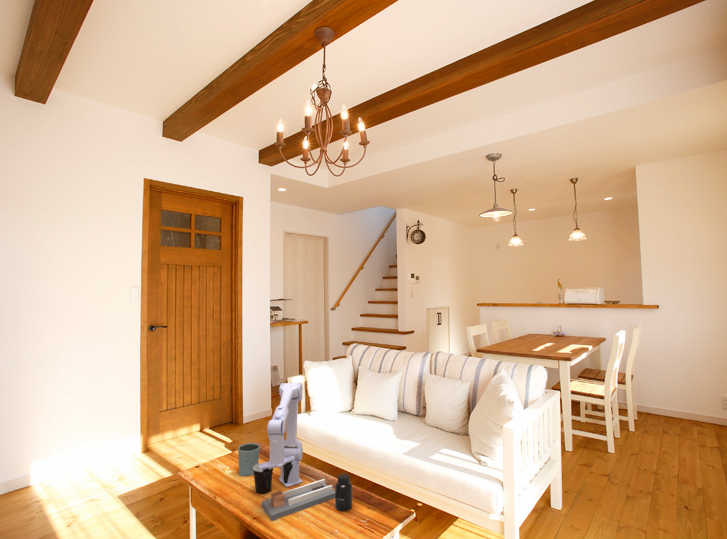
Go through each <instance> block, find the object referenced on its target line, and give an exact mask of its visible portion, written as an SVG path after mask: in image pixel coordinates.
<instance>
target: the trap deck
mask: <svg viewBox="0 0 727 539" xmlns="http://www.w3.org/2000/svg"><path fill="white" fill-rule="evenodd" d="M326 486H329V485H328V484H327V483H326V482H325V485H322V486H319V487H316V488H313V489H310V490H307V491H304V492H301V493H298V494H295V495H292V496H289V497H286V498H284V505H283V506H280V507H277V508H274V507H273V506H272V504H271V497H270V498H268V499H264V500H261V501H260V502H261V503H260V504H261V505H260V506H261V508H262V509H263V512H264V513H265V514H266V515H267V516H268V518H269V519H270V521H271V522H273V521H275V520H278V519H281V518H283V517H286V516H289V515H293V514H295V513H297V512H300V511H302V510H305V509H308V508H311V507H314V506H317V505H320V504H323V503H325V502H327V501H330V500H333V499H335V490H334V489H333V491H330V492H327V493H324V494H322V495H319V496H316V497H313V498H310V499H307V500H304V501H302V502H299V503H296V504H293V505H290V506H289V505H288V499H291V498H294V497H297V496H300V495H303V494H306V493H309V492H312V491H315V490H317V489H320V488H323V487H326Z"/></svg>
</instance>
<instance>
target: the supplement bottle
mask: <svg viewBox="0 0 727 539" xmlns="http://www.w3.org/2000/svg"><path fill="white" fill-rule="evenodd" d="M334 489H335V490H334V491H335V498H334V499H335V500H334V502H335V503H334V504H335V506H334V507H335V509H336V510H338V511H340V512H348V511H350V510H351V509H352V507H353V484H352V482H351V479H350V475H349V474H348V473H340V474H338V475H337V482H336V483H335V486H334Z"/></svg>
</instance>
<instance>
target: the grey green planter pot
mask: <svg viewBox="0 0 727 539" xmlns="http://www.w3.org/2000/svg"><path fill="white" fill-rule="evenodd" d="M260 449H261V446H260V444H259V443H257V442H256V443H254V442H248V443H244V444H241V445H239V446H238V448H237V452H238V454H237V455H238V472H239V475H240V476H241V477H251V476H250V475H252V476H254V472H253V467H254V466H255V465H257V464H259V461H260V460H259V458H260V451H261V450H260Z"/></svg>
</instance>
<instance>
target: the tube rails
mask: <svg viewBox="0 0 727 539" xmlns="http://www.w3.org/2000/svg"><path fill="white" fill-rule="evenodd" d="M325 483H326V478H323V479H319V480H316V481H314V482H309V483H307V484H304V485H302V486H298V487H295V488H292V489H288V490H285V491H283V492H282V491H281V492H282V493H283V494H284V498H286V497H289V496H292V495H295V494H298V493H301V492H304V491H307V490H310V489H313V488H316V487H319V486H322V485H325ZM333 490H334V488H333V485H332V484H330V485H328V486H326V487H323V488H320V489H317V490H315V491H312V492H309V493H306V494H303V495H300V496H297V497H294V498H291V499H288V505H289V506H290V505H293V504H296V503H299V502H302V501H304V500H307V499H310V498H313V497H316V496H319V495H322V494H324V493H327V492H330V491H333Z"/></svg>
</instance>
